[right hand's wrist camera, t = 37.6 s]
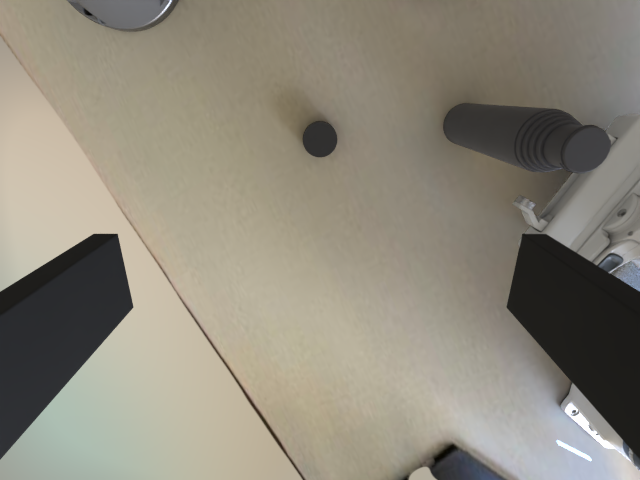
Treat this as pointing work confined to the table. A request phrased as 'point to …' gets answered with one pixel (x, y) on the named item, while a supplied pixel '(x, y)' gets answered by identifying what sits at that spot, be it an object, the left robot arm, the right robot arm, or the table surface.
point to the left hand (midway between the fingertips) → (542, 167)
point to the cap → (319, 139)
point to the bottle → (528, 137)
